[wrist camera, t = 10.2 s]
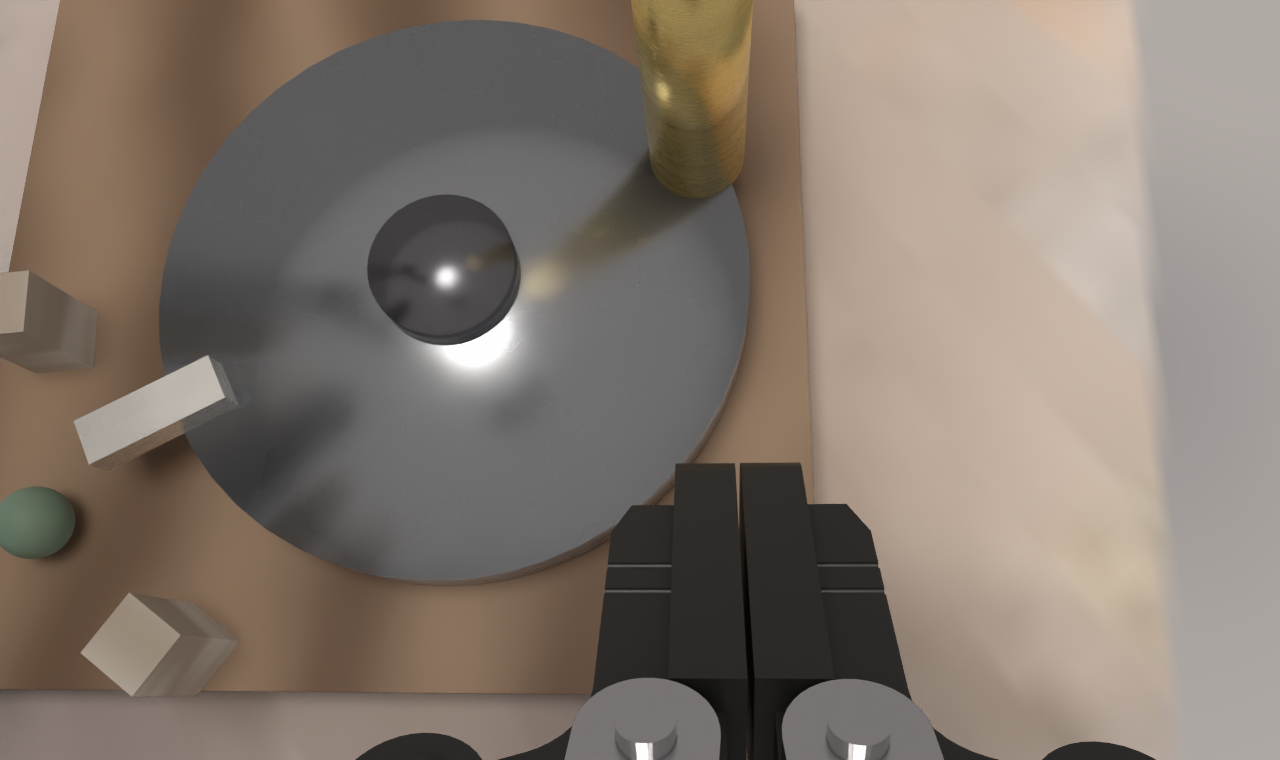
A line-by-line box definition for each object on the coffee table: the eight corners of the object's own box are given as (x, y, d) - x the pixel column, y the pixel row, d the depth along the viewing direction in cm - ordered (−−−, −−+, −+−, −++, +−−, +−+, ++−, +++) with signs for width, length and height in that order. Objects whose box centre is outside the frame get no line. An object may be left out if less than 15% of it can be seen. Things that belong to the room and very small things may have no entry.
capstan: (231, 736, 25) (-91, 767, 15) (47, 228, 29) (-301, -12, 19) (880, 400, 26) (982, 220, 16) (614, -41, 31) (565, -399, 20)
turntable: (-19, 693, 28) (-169, 694, 23) (97, 38, 34) (-5, -69, 29) (813, 700, 27) (835, 703, 22) (788, 14, 32) (801, -103, 27)
